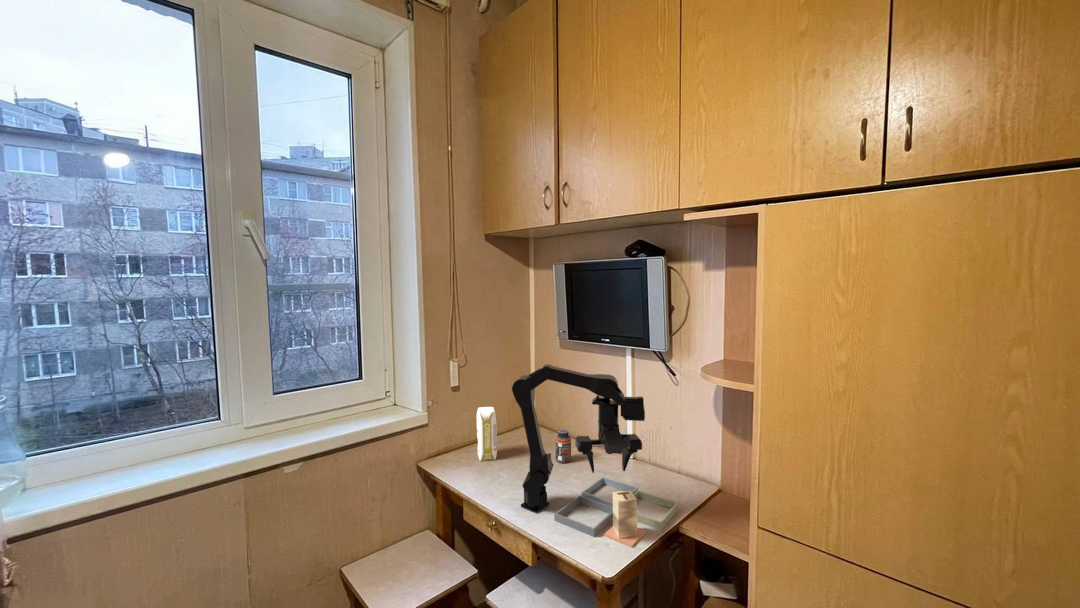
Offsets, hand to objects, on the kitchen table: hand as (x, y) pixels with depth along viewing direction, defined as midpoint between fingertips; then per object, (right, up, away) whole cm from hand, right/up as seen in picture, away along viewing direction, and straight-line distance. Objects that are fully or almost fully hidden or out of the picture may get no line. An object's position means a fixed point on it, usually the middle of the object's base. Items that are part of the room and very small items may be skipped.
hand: (608, 471), depth 122 cm
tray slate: (+2, -11, +9) cm, 15 cm away
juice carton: (-41, -11, +41) cm, 59 cm away
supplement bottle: (-11, -11, +37) cm, 40 cm away
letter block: (+3, -12, -11) cm, 16 cm away
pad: (+3, -12, -11) cm, 17 cm away
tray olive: (+12, -12, 0) cm, 17 cm away
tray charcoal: (-7, -12, -3) cm, 14 cm away
